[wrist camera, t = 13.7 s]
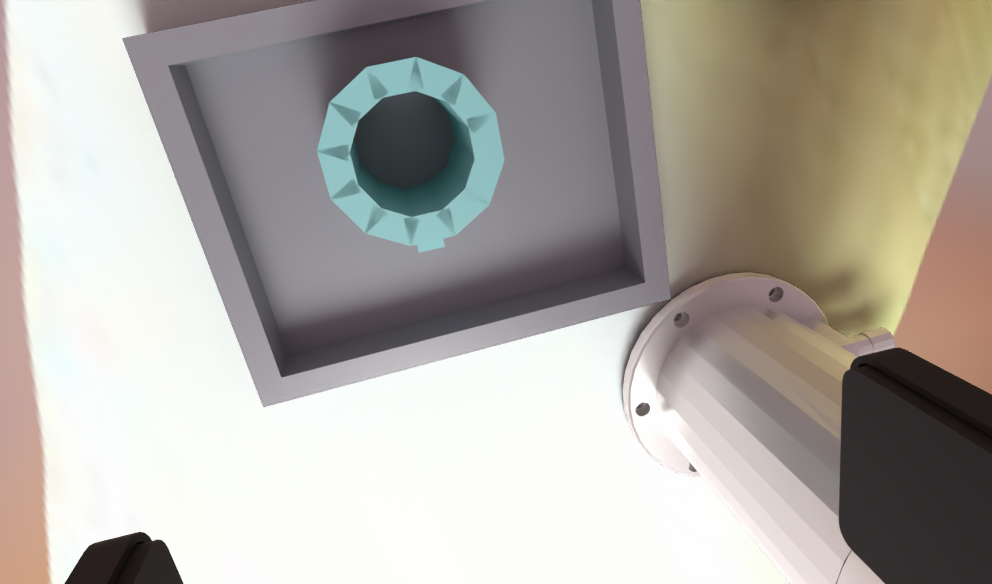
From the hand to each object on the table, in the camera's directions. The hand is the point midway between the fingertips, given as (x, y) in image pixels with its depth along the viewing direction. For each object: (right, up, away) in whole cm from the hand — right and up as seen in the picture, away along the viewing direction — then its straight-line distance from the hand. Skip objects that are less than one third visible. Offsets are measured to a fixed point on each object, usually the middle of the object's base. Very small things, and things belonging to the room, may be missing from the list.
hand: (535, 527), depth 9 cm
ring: (-5, +10, +20) cm, 23 cm away
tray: (-4, +9, +22) cm, 24 cm away
